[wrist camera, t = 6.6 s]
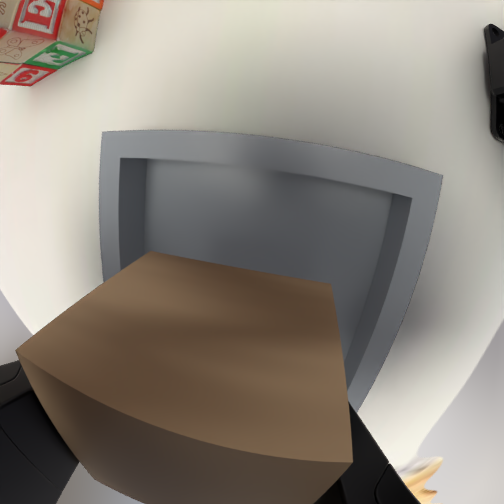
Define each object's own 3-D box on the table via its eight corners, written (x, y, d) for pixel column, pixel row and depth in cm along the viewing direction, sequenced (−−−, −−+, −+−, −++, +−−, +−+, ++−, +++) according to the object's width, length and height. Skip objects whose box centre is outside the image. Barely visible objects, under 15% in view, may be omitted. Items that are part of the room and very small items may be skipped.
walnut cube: (331, 283, 7) (352, 461, 2) (292, 408, 9) (274, 535, 4) (150, 250, 8) (15, 350, 3) (159, 376, 9) (93, 478, 5)
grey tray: (415, 171, 10) (443, 175, 7) (344, 394, 14) (347, 428, 11) (136, 133, 11) (102, 131, 9) (141, 351, 15) (120, 377, 13)
